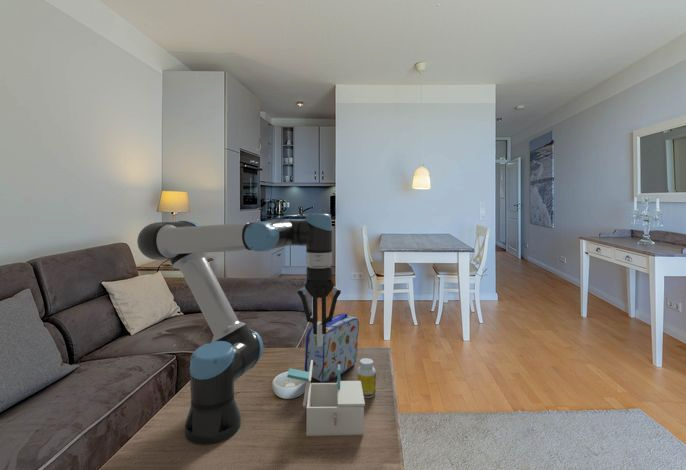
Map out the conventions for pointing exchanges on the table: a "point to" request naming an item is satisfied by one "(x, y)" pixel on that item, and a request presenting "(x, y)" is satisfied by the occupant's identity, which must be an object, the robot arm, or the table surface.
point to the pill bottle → (367, 377)
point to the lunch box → (333, 348)
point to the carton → (331, 413)
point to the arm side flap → (302, 378)
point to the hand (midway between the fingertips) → (319, 344)
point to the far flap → (349, 392)
